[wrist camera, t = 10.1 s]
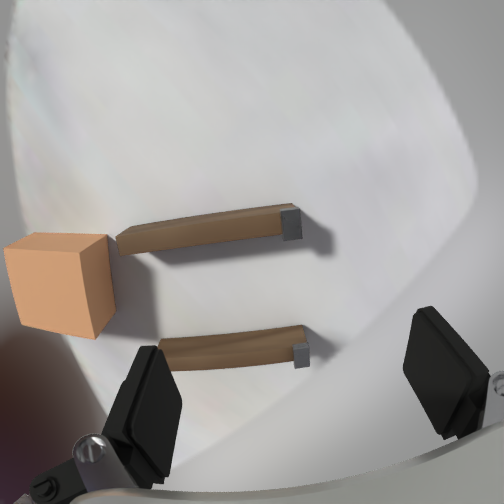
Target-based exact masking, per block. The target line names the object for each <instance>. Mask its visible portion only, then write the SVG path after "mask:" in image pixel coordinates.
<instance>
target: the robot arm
mask: <svg viewBox="0 0 504 504" xmlns="http://www.w3.org/2000/svg"><path fill="white" fill-rule="evenodd" d="M403 371H404V374H405V376H406V378H407V379H408V381H409V383H410V385H411V387H412V388H413V390H414V392H415V394H416V395H417V397H418V399H419V401H420V403H421V405H422V406H423V408H424V410H425V412H426V414H427V416H428V417H429V419H430V421H431V423H432V425H433V427H434V429H435V431H436V432H437V434H439V435H440V434H441V435H442V437H443V439H444V440H446V439H448V438H450V437H452V436H455V435H456V436H457V438H458V440H456V441H454V442H452V443H450V444H447V445H445V446H442V447H440V448H438V449H435V450H433V451H430V452H428V453H425V454H423V455H420V456H417V457H414V458H412V459H409V460H406V461H403V462H400V463H397V464H394V465H391V466H388V467H384V468H381V469H378V470H374V471H370V472H367V473H363V474H359V475H355V476H351V477H346V478H342V479H338V480H332V481H328V482H322V483H316V484H311V485H304V486H298V487H290V488H282V489H272V490H260V491H244V492H183V491H167V490H151V488H152V485H153V483H156V484H164V479H165V477H169V474H170V469H171V463H172V457H173V452H174V446H175V441H176V435H177V430H178V425H179V420H180V414H181V409H182V398H181V395H180V393H179V391H178V388H177V386H176V383H175V381H174V379H173V376H172V374H171V371H170V369H169V366H168V364H167V361H166V358H165V356H164V353H163V351H162V349H158V348H157V346H155V345H153V346H141V347H140V348H139V350H138V352H137V355H136V357H135V359H134V361H133V364H132V366H131V368H130V371H129V373H128V375H127V378H126V380H125V381H123V383H122V384H121V386H120V389H119V391H118V394H117V396H116V398H115V401H114V403H113V406H112V408H111V411H110V413H109V416H108V418H107V421H106V423H105V426H104V428H103V431H102V434H101V435H100V434H89V435H85V436H83V437H82V438H80V439H79V440H78V441H77V442H76V444H75V446H74V447H73V458H72V459H70V460H68V461H66V462H64V463H62V464H60V465H58V466H56V467H54V468H52V469H50V470H48V471H46V472H44V473H42V474H40V475H38V476H36V477H35V478H34V479H33V480H32V482H31V485H30V490H29V491H30V494H29V495H28V496H27V495H26V494H24V495H23V496H22V497H21V498H20V499H18V500H17V501H16V502H15V503H14V504H504V371H499V372H496V373H494V374H493V375H492V376H490V374H489V373H488V372H489V370H488V368H487V367H486V366H485V365H484V364H483V362H482V361H481V360H480V359H479V358H478V356H477V355H476V354H475V353H474V352H473V350H472V349H470V347H469V346H468V345H467V344H466V342H465V341H464V340H463V339H462V338H461V337H460V336H459V335H458V333H457V332H456V331H455V330H454V329H453V328H452V327H451V326H450V324H449V323H448V322H447V321H446V320H445V319H444V318H443V317H442V316H441V315H440V314H439V312H438V311H437V310H436V309H435V308H434V307H433V306H428V307H424V308H420V309H418V310H417V312H416V313H415V314H414V315H413V319H412V325H411V330H410V335H409V340H408V345H407V350H406V355H405V359H404V363H403Z"/></svg>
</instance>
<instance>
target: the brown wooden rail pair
mask: <svg viewBox="0 0 504 504" xmlns="http://www.w3.org/2000/svg"><path fill="white" fill-rule="evenodd" d="M281 234H282V237H283V240H284V241H287V240H295V239H302V227H301V217H300V209H299V207H295V206H294V205H293V204H292V203H289V204H281V205H272V206H264V207H256V208H249V209H241V210H234V211H226V212H219V213H212V214H205V215H199V216H192V217H186V218H179V219H173V220H167V221H160V222H154V223H148V224H142V225H137V226H131V227H129V228H128V229H126V230H125V231H123V232H122V233H120V234H119V235H117V236H116V242H117V246H118V250H119V254H120V256H124V255H131V254H138V253H145V252H152V251H160V250H167V249H174V248H181V247H189V246H196V245H203V244H211V243H218V242H226V241H234V240H241V239H249V238H257V237H265V236H273V235H281ZM157 348H158V349H162V351H163V353H164V356H165V358H166V361H167V364H168V366H169V369H170V371H193V370H211V369H225V368H236V367H247V366H257V365H266V364H274V363H282V362H289V361H294V367H295V369H296V368H303V367H310V356H309V345H308V342H307V340H306V337H305V334H304V330H303V327H302V325H297V326H290V327H282V328H274V329H267V330H258V331H249V332H240V333H230V334H220V335H209V336H196V337H183V338H167V339H161V340H160V342H159V345H158V347H157Z"/></svg>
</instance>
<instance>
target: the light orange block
mask: <svg viewBox="0 0 504 504" xmlns="http://www.w3.org/2000/svg"><path fill="white" fill-rule="evenodd" d="M3 249H4V254H5V260H6V265H7V270H8V275H9V279H10V283H11V288H12V292H13V296H14V300H15V303H16V307H17V310H18V314H19V317H20V320H21V323H22V325H26V326H30V327H34V328H38V329H42V330H47V331H52V332H56V333H61V334H66V335H71V336H76V337H82V338H87V339H93V340H96V338H97V337H98V336H99V334H100V333H101V331H102V330H103V329H104V327H105V326H106V325H107V323H108V322H109V320H110V319H111V318H112V316H113V315H114V314H115V312H116V306H115V300H114V293H113V286H112V278H111V270H110V261H109V251H108V240H107V234H76V233H33V234H31V235H28V236H26V237H24V238H22V239H20V240H18V241H16V242H14V243H12V244H10V245H8V246H7V247H5V248H3Z"/></svg>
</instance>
